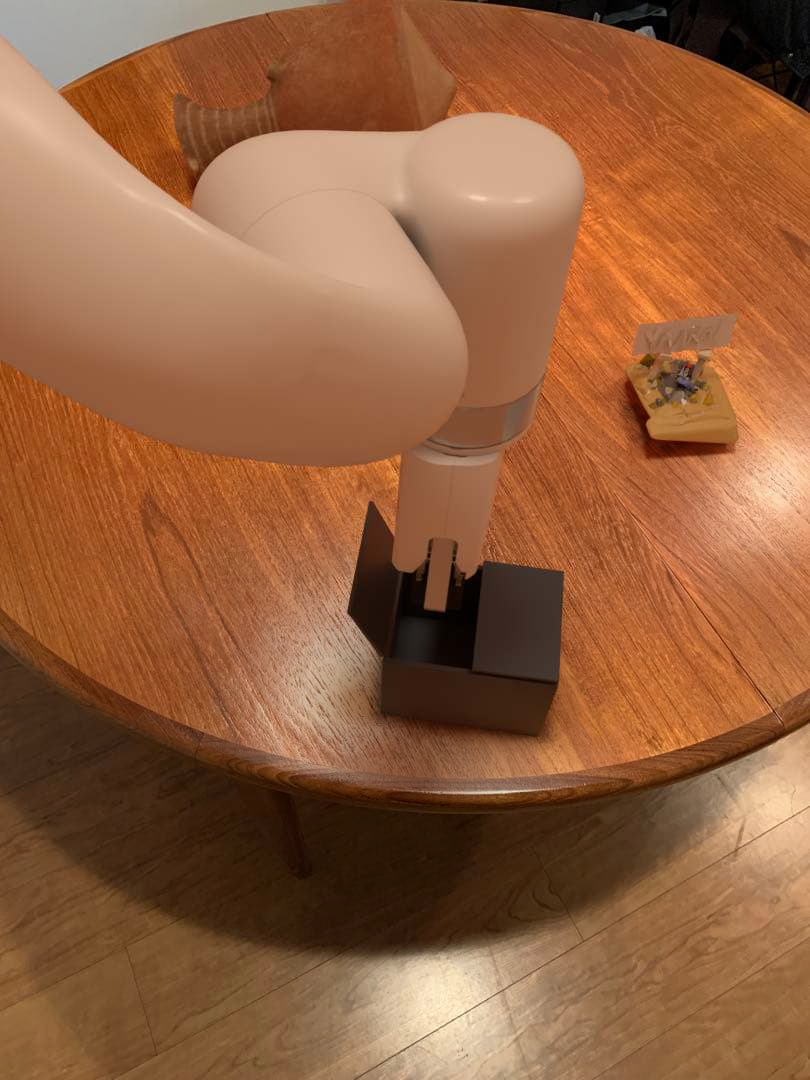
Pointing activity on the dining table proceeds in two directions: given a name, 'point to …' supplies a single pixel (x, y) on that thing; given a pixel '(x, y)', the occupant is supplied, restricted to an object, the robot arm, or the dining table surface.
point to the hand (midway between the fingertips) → (439, 578)
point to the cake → (684, 380)
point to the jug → (332, 84)
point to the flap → (374, 581)
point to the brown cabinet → (478, 651)
